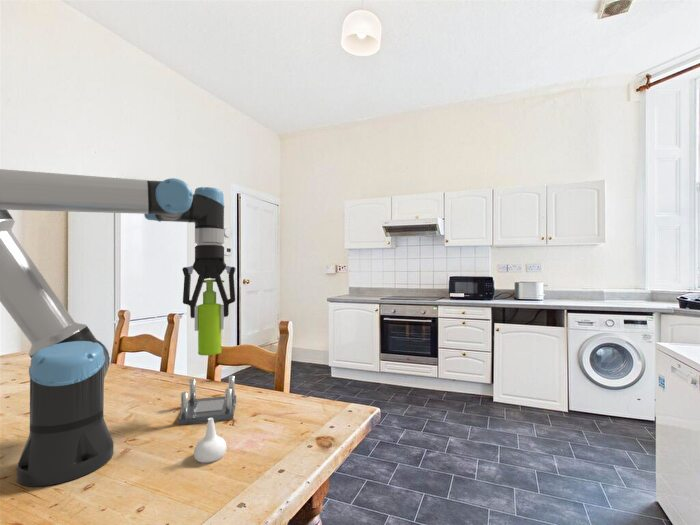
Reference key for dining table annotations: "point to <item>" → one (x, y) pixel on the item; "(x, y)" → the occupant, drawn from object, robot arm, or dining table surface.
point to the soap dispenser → (209, 322)
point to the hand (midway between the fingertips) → (209, 329)
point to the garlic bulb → (210, 445)
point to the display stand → (207, 405)
